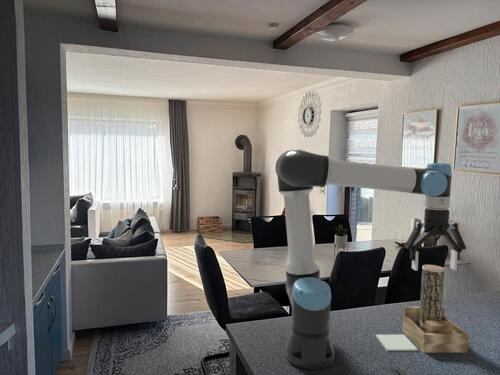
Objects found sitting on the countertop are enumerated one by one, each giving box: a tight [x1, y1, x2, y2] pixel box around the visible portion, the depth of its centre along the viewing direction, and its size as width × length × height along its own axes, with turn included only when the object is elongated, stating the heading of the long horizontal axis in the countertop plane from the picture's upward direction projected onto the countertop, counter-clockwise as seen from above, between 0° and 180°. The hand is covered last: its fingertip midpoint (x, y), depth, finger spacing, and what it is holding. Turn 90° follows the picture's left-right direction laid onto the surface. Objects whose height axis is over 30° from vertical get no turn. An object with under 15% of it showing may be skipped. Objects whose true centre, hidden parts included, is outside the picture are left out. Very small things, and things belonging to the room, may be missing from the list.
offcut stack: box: [425, 321, 457, 333], centre depth 123 cm, size 11×4×8 cm, turn 92°
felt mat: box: [375, 334, 419, 352], centre depth 126 cm, size 10×10×1 cm
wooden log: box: [419, 264, 445, 333], centre depth 130 cm, size 7×7×25 cm
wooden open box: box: [402, 306, 470, 354], centre depth 128 cm, size 15×15×9 cm
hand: (434, 269), depth 129 cm, fingers open, 13 cm apart
